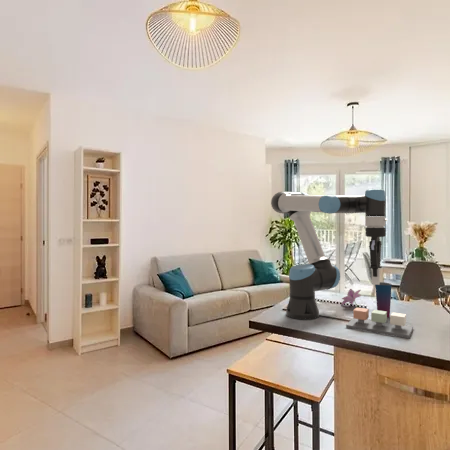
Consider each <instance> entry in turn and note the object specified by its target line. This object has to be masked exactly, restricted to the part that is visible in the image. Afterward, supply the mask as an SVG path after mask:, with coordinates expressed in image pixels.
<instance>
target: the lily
mask: <svg viewBox="0 0 450 450" xmlns="http://www.w3.org/2000/svg"><path fill="white" fill-rule="evenodd" d="M360 292H361V289H358V290H356V291H354V290H353V288H349V290H348V292H347V294H346V295H347V296H343V297H342V298H341V300H342V302H341V303H340V306H343V305H345V304H347V303H349V304H350V305H353V304H355V305H356V307H357V308H359V306H358V305H357V303H356V299H358V298H360V297H361V296H362V294H360Z"/></svg>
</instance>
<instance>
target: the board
mask: <svg viewBox="0 0 450 450" xmlns="http://www.w3.org/2000/svg"><path fill="white" fill-rule="evenodd" d="M345 328H346V329H353V330H357V331H363V332H367V333H368V332H370V333H375V334H380V335H386V336H392V337H396V338H404V339H410V338H411V336H412V333H413V330H414V326H413V325H411V324H410V325H409V324H405V326H400V325H393V324H390V321H386V322H385V323H380V322H374V321H371V318H370V319H369V318H368V319H367V320H361V319H354V317H352V318H351V320H349V321H348V322H347V324H345Z"/></svg>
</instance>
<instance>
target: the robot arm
mask: <svg viewBox="0 0 450 450" xmlns="http://www.w3.org/2000/svg"><path fill="white" fill-rule="evenodd" d="M386 201H387V199H386V191H385V190H384V189H382V188H371V189H366V190H365V192H364V194H363V195H336V194H327V195H326V194H324V195H323V194H322V195H321V194H319V195H318V194H308V193H306V192H304V191H303V192H302V191H278V192H277V193H275V194H274V195H273V196H272V198H271V200H270V205H271V207H272V209H273V210H274V211H275V212H276V213H277V214H287V215H288V217H289V219H290V220H291V221H293V222H294V225H295V228H296V231H297V234H298V237H299V238H300V239H299V240H300V243H301V245H302V248H303V252H304V253H305V256H306V259H307V262H308V263H304V264H301V263H300V264H297V265H293V266H291V267H290V268H289V275H288V281H289V300H288V302H287V306H286V310H285V315H286V316H287V317H289V318H291V319H296V320H303V321H304V320H315V319H317V318H319V316H320V311H319V307H318V304H317V301H316V292H318V291H324V290H331V289H334V288H336V287H337V286H338V285H339V284H340V280H341V271H340V270H339V268H338V266H337V265H334V264H332V262H331V260H330V259H329V258H328V257H326V256H325V253H324V250H323V247H322V245H321V242H320V240H319V237H318V235H317V232H316V230H315V226H314V225H313V221H312V219H311V216H310V215H311V213H325V214H361V213H363V214H364V215H365V216H364V217H365V222H364V223H365V224H364V225H365V227H366V228H365V237H368V238H369V237H370V241H369V242H368V243H369V246H368V247H369V257H370V258H369V260H370V266H369V269H371V285H374V286H375V285H379V284H380V282H381V281H380V279H381V277H380V276H381V275H380V269H382V266H381V259H382V258H381V257H382V255H381V254H382V253H381V252H382V241H381V238H384V237H386V233H387V232H386V228H385V226H386V222H387V221H388V219H387V218H386Z"/></svg>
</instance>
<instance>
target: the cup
mask: <svg viewBox="0 0 450 450" xmlns="http://www.w3.org/2000/svg"><path fill="white" fill-rule="evenodd" d="M374 286H375V296H376V299H375V300H376V310H379V311H387V319H388V318H390V315H391V303H392V302H391V299H392V298H391V297H392V287H393V286H392V283H390V282H383V281H380V284H379V285H375V284H374Z"/></svg>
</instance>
